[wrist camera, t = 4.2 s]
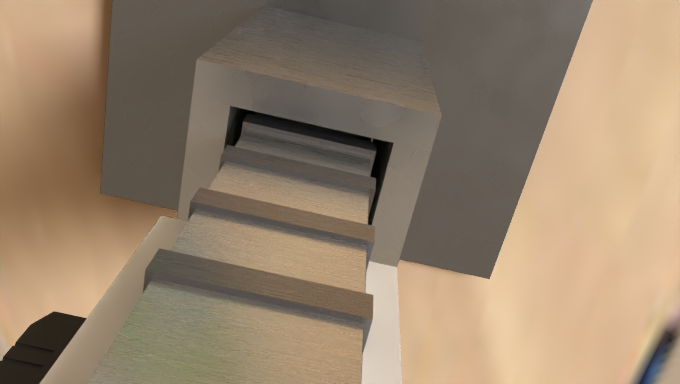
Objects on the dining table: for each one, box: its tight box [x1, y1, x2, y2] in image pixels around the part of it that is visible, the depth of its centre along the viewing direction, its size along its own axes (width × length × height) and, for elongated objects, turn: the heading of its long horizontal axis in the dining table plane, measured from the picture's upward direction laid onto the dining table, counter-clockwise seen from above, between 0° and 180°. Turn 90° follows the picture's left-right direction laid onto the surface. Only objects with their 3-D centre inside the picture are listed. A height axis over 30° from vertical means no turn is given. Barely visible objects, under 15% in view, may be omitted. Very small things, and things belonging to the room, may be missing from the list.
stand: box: [100, 0, 593, 279], centre depth 27 cm, size 16×22×13 cm
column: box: [87, 112, 377, 384], centre depth 18 cm, size 4×4×22 cm
